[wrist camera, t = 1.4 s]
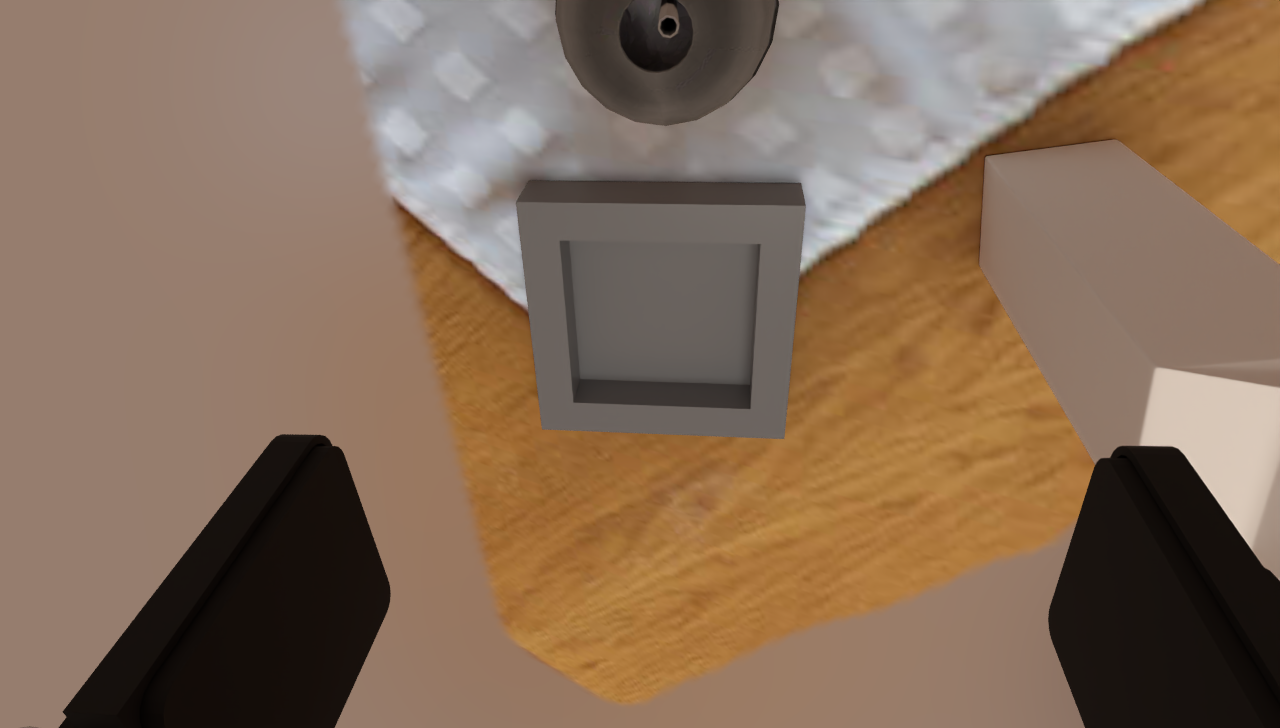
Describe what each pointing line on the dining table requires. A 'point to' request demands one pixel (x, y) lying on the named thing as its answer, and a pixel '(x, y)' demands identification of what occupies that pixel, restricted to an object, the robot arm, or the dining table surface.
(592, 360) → the tray
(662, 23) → the beverage cup
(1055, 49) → the dining table surface
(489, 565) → the dining table surface
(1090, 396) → the milk
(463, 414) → the dining table surface
